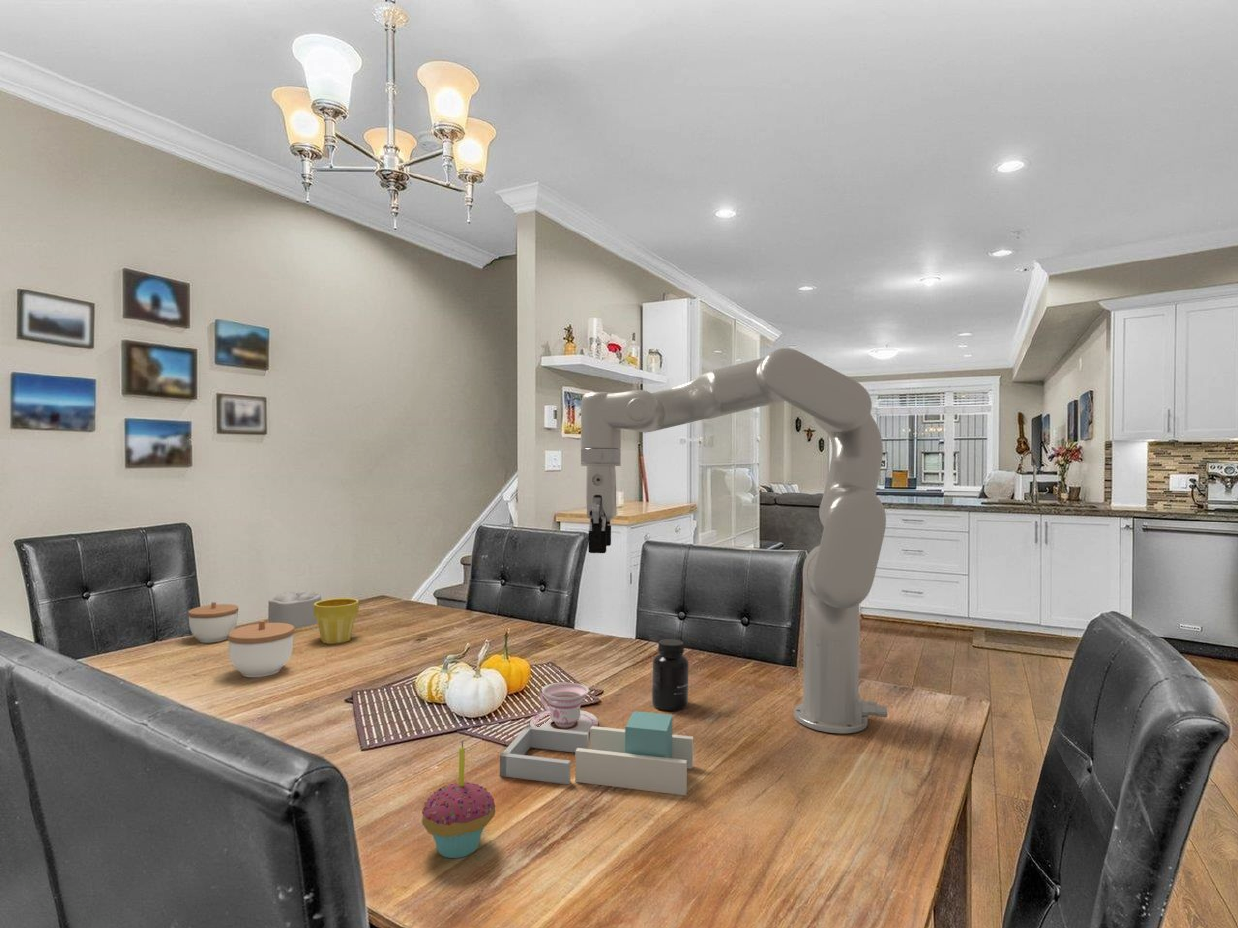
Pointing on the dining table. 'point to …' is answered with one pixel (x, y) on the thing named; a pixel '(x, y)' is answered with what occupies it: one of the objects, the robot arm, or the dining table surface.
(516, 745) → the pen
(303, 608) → the grey lumpy-topped box
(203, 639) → the lidded jar
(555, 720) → the teacup
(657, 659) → the supplement bottle
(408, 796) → the dining table surface
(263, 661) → the lidded bowl
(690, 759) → the channel
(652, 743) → the block
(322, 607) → the plant pot
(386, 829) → the dining table surface
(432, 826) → the cupcake
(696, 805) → the dining table surface
